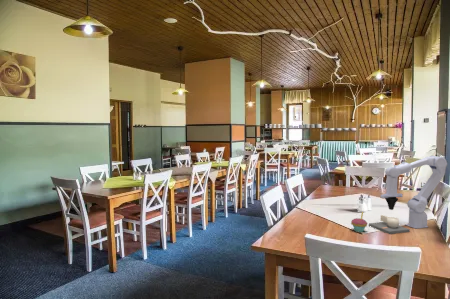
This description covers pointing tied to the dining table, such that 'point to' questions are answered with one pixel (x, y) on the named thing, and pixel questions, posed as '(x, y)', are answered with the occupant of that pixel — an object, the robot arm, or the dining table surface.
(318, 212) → the dining table surface
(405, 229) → the post board
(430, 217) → the dining table surface
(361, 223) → the cupcake
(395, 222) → the cream ball joystick
